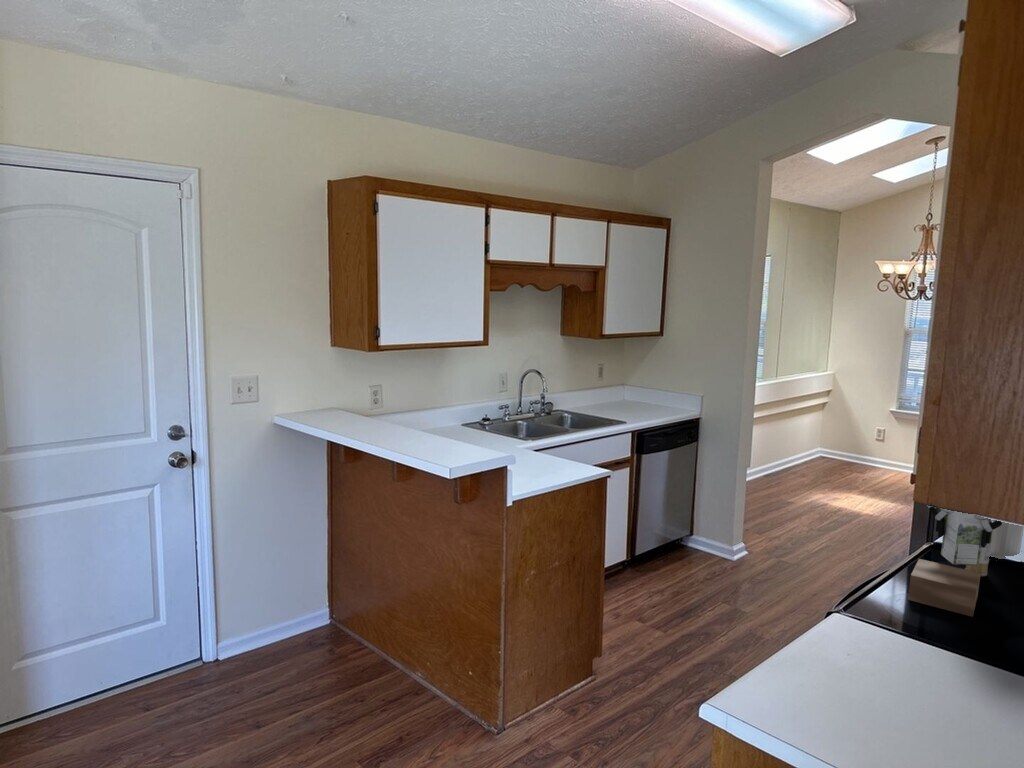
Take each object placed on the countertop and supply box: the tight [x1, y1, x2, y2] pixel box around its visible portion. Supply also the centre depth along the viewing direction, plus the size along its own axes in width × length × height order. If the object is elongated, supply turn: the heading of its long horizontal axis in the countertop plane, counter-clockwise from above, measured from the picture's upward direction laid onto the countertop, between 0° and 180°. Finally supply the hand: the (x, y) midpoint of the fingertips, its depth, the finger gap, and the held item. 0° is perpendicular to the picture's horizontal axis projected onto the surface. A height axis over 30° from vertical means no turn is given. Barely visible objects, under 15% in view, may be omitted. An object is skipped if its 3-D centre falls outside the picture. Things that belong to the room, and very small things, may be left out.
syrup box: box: [940, 511, 984, 566], centre depth 158 cm, size 6×6×14 cm
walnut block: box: [907, 558, 981, 618], centre depth 152 cm, size 12×12×6 cm
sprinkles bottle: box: [964, 521, 993, 577], centre depth 165 cm, size 5×5×13 cm
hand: (962, 540), depth 159 cm, fingers closed on syrup box, 8 cm apart
